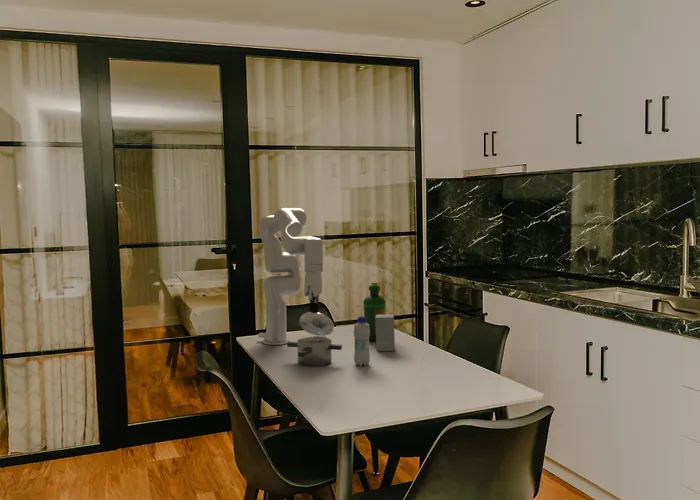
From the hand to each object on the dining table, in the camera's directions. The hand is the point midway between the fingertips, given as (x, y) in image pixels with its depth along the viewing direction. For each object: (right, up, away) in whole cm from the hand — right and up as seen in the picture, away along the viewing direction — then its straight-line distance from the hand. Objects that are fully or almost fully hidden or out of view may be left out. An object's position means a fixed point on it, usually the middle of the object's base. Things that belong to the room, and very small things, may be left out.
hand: (314, 312), depth 251 cm
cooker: (-1, -21, -2) cm, 21 cm away
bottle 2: (+27, -18, +42) cm, 53 cm away
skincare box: (+31, -19, +22) cm, 43 cm away
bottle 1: (+20, -21, -3) cm, 29 cm away
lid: (+1, -6, +3) cm, 6 cm away
